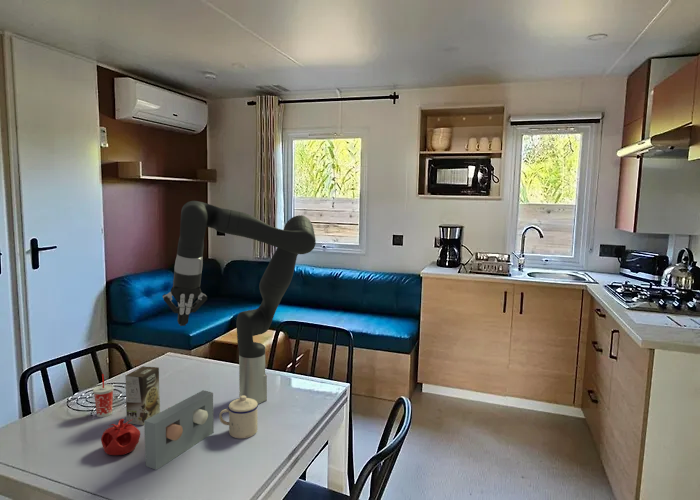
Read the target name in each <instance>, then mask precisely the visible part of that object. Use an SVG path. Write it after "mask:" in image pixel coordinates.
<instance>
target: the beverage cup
mask: <svg viewBox="0 0 700 500" xmlns="http://www.w3.org/2000/svg"><path fill="white" fill-rule="evenodd" d="M104 376H105V375H104V373H101V377H102V378H101V379H102V381H101V382H102V385H98V386H96V387H94V388H93V390H92V393H93V394H94V395H93V397H94V403H95V404H94V405H95V411H96V416H97V418H107V417H109V416H111V415H112V414H113V404H114V403H113V398H114V397H113V396H114V395H113V394H114V392H113V391H114V388H115V387H114V385H113V384H105V377H104Z"/></svg>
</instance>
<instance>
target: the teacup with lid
mask: <svg viewBox="0 0 700 500" xmlns="http://www.w3.org/2000/svg"><path fill="white" fill-rule="evenodd" d="M258 407H259V404H258V403H257V401H256V400H254V399H251V398H246V396H245V395H242V396H240V398H237V399H234V400H232V401H230V403H229V404H228V406H227V408H225V409H222V410H221V411H220V412H219V413H218V417H219V421H220V422H221V424H222V425H224V426H229V427H228V433H229V435H230V436H231V437H233V438H235V439H249V438H251V437H252V436H254V435H256V433H257V432H258ZM224 413H228V421H226V420H225V419H224V418H223V416H222V415H223V414H224Z"/></svg>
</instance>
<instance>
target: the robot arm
mask: <svg viewBox="0 0 700 500" xmlns="http://www.w3.org/2000/svg"><path fill="white" fill-rule="evenodd" d="M179 228H180V229H179V238H178V242H177V251H176V258H175V262H174V271H173V279H172V280H173V281H172V287H171V288H170V291H169V292H168V293H167V294H165V293H164V294H163V295H162V298H163V301H164V302H165V303H166V305H167V306H168V308H170V310H172V312H173V313H174V314H177V320H176V321H177V323H178V325H179V326H180V327H182V326H183V327H185V326H187V324H188V323H189V317H190V314H192V313H195V312H197V311H198V310H199V309H200V308H201V307H202V306H203V304H204V303H205V302H206V301H208V296H207V295H206V293H203V292H202V290H201V283H202V282H201V281H202V271H203V265H204V263H203V262H204V261H203V260H204V259H203V257H204V249H205V241H204V240H205V236H206V230H207V228H211V229H214V230H215V231H217V232H219V233H222V234H226V235H232V236H236V237H237V236H238V237H243V238H246V239H250V240H255V241H258V242H259V243H264V244H266V245H269V246H272V247H275V248H276V250H275V251H274V252H273V255H272V257H271V259H270V260H269V262H268V265H267V267H266V268H265V270H264V273H263V275H262V276H261V278H260V280H259V281H260V282H259V286H258V288H259V293H260V295H261V298H262V301H261V304H260V305H259V306H258V307H257V308H255V309H249V310H244V311H241V312H239V313H238V314H237V317H236V322H235V323H236V341H237V348H238V358H239V359H238V362H239V363H238V367H239V368H238V370H239V372H238V376H239V380H238V381H239V385H238V386H239V388H238V389H239V391H238V393H239V396H238V397H239V398H240V396H242V395H245V396H246V398H251V399H254V400H256V401H257V403H258V405H259V404H261V403H263V402H266V401H267V400H268V375H267V373H266V347H265V345H264V344H263V343H261V342H257V341H256V342H255V341H254V336H259V335H263V334H266V332H268V331H269V328H270V327H271V326H272V325H271V324H272V322H273V320H274V317H275V315H276V314H275V313H276V311H277V310H278V307H279V305H280V303H281V301H282V298H283V297H284V295H285V293H286V292H287V289H288V288H289V287H290V284H291V282H292V280H293V276H294V274H295V273H294V272H295V269H296V261H297V258H298V256H299V255H305V254H309V253H310V252H312V251H313V250H314V248H315V247H316V245H317V244H316V243H317V241H316V240H317V239H316V234H315V230H314V226H313V223H312V222H311V220H310V219H309V218H308V217H307V216H306V215H295V216H293V217H291V218H290V219H288V221H286V223H285V224H284V228H283V229H282V228H278V227H274V226H272V225H271V224H270V225H269V224H268V223H267V222H264V221H262V220H261V219H258V218H257V217H255V216H254V215H252V214H249V213H246V212H243V211H237V210H232V209H227V208H222V207H218V206H216V205H213V204H210V203H206V202H203V201H200V200H199V201H198V200H191V201H187V202H186V203H184V204H183V206H182V207H181V211H180V226H179ZM173 298H174V300H175V301H176V302H177V305H178V306H176V305H175V303H173ZM196 299H197V300H196ZM193 302H194V303H193ZM239 398H238V399H239Z"/></svg>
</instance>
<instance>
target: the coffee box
mask: <svg viewBox="0 0 700 500" xmlns="http://www.w3.org/2000/svg"><path fill="white" fill-rule="evenodd" d="M160 397H161V396H160V368H159V367H158V366H157V367H156V366H144V365H143V366H141V367H139V368H137V369H135V370H134V371H132V372H129V373H128V374H126V375H125V406H126V407H125V411H126V413H125V414H126V423H127V422H128V421H129V420H132V419H133V420H132V421H129V422H128V423H127V424H131V425H138V426H139V425H140V426H144V421H145V420H147V419H148V418H150V417H152V416H154V415H156V414H158V413H160V412H161V404H160V402H161V401H160Z"/></svg>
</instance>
